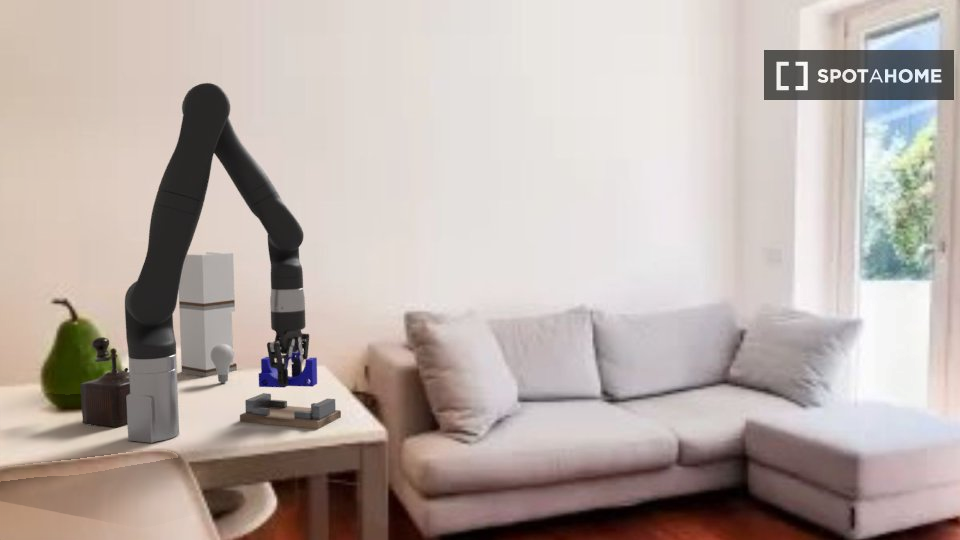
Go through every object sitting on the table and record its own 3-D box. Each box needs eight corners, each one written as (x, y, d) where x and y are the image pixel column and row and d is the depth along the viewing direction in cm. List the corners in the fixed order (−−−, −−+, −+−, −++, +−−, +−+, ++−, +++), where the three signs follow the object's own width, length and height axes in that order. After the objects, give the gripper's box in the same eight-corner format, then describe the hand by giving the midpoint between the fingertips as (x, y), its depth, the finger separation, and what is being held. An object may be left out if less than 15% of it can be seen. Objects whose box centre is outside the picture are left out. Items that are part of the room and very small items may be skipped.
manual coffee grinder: (154, 415, 176) (151, 339, 174) (115, 428, 165) (112, 347, 164) (104, 409, 181) (101, 335, 180) (64, 421, 171) (60, 343, 170)
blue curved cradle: (258, 386, 170) (258, 360, 170) (267, 382, 175) (266, 356, 174) (310, 388, 169) (309, 361, 168) (317, 383, 173) (316, 357, 173)
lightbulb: (210, 382, 210) (209, 343, 209) (233, 380, 213) (232, 341, 212) (212, 386, 205) (211, 346, 204) (236, 384, 207) (235, 344, 206)
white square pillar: (236, 370, 226) (233, 253, 223) (206, 377, 217) (202, 255, 214) (212, 366, 232) (208, 252, 229) (181, 372, 223) (177, 254, 220)
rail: (318, 428, 164) (317, 408, 164) (240, 421, 170) (239, 401, 170) (340, 417, 174) (340, 397, 173) (265, 410, 180) (265, 391, 180)
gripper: (284, 313, 162) (287, 391, 164) (319, 304, 176) (321, 377, 177) (254, 312, 165) (257, 389, 166) (290, 303, 178) (293, 375, 179)
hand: (290, 382), depth 171 cm, fingers closed on blue curved cradle, 5 cm apart
